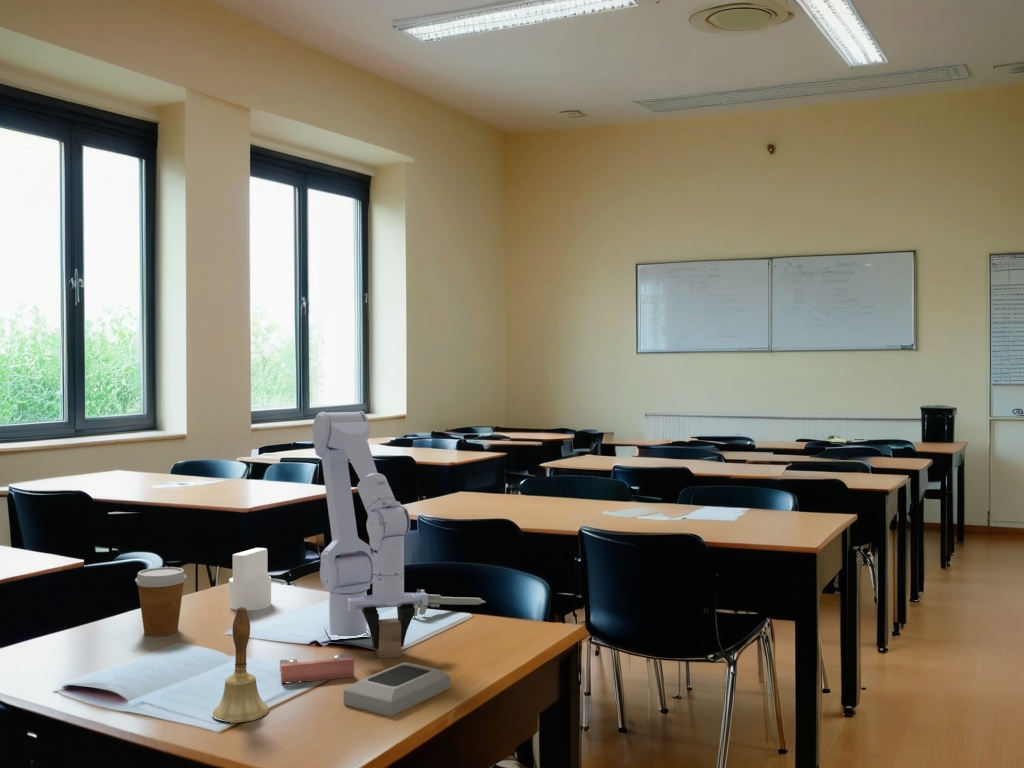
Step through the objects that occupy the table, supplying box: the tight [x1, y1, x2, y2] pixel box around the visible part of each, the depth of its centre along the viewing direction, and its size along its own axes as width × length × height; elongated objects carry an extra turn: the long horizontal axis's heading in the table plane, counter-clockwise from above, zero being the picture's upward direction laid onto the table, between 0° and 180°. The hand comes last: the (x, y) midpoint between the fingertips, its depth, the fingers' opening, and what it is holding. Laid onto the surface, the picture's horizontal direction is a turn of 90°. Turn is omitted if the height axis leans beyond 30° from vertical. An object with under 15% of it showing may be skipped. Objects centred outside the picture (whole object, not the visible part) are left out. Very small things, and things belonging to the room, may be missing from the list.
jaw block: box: [374, 617, 402, 659], centre depth 169 cm, size 4×4×6 cm
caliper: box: [414, 588, 486, 617], centre depth 201 cm, size 20×1×6 cm, turn 135°
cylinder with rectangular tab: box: [228, 547, 272, 612], centre depth 205 cm, size 9×9×12 cm
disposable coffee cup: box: [134, 566, 187, 637], centre depth 184 cm, size 10×10×12 cm
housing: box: [279, 653, 355, 684], centre depth 158 cm, size 7×12×3 cm, turn 109°
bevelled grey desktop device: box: [343, 661, 451, 717], centre depth 148 cm, size 10×4×15 cm
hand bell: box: [212, 607, 270, 724], centre depth 140 cm, size 8×8×16 cm
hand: (388, 646), depth 170 cm, fingers closed on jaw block, 4 cm apart
